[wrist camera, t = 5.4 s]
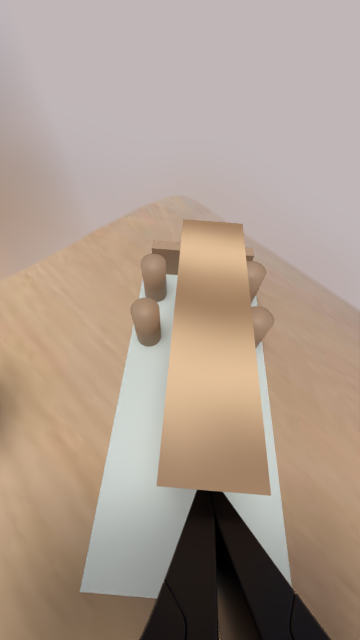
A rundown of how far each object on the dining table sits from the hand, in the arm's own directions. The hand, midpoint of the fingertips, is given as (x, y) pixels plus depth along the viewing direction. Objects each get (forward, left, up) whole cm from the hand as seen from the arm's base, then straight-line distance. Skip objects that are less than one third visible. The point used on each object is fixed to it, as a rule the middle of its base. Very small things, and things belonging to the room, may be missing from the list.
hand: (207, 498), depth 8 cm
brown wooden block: (+6, -2, -7) cm, 10 cm away
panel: (+6, -2, -8) cm, 10 cm away
